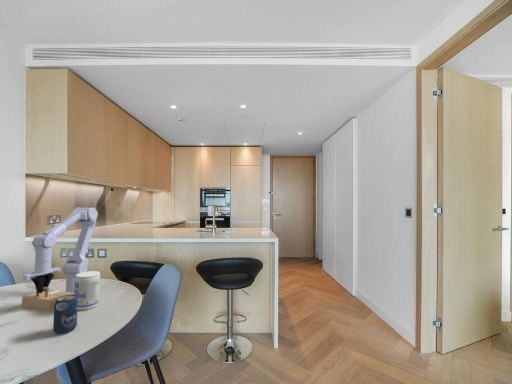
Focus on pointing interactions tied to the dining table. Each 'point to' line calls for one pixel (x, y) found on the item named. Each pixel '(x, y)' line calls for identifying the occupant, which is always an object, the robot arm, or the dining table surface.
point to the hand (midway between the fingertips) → (42, 291)
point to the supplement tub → (87, 289)
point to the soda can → (65, 314)
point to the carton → (43, 301)
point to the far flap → (42, 295)
